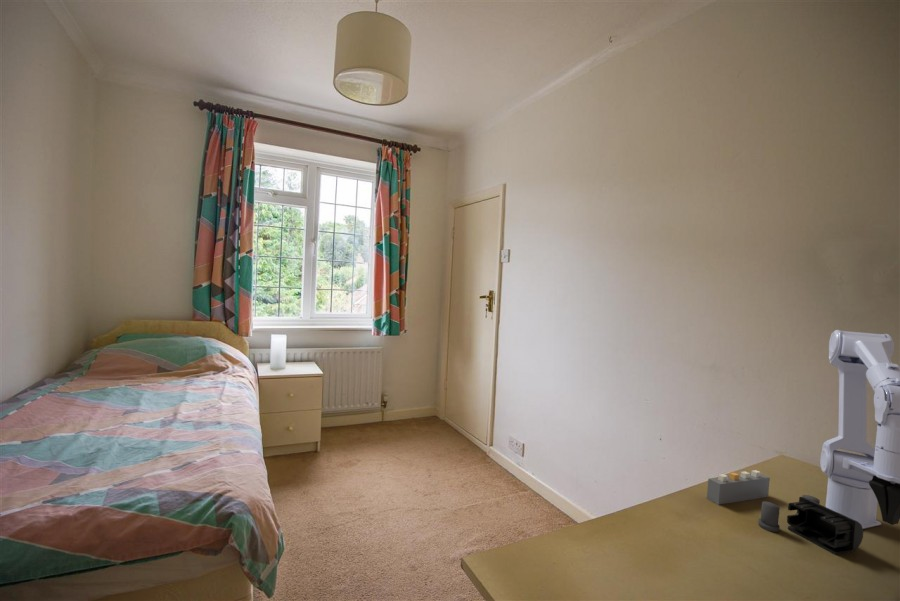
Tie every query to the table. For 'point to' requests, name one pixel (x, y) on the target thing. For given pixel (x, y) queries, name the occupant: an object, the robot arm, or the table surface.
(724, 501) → the breaker strip
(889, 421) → the robot arm
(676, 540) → the table surface
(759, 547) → the table surface
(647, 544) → the table surface
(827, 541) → the end cap
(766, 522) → the gray rounded knob
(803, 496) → the dark grey cylinder
